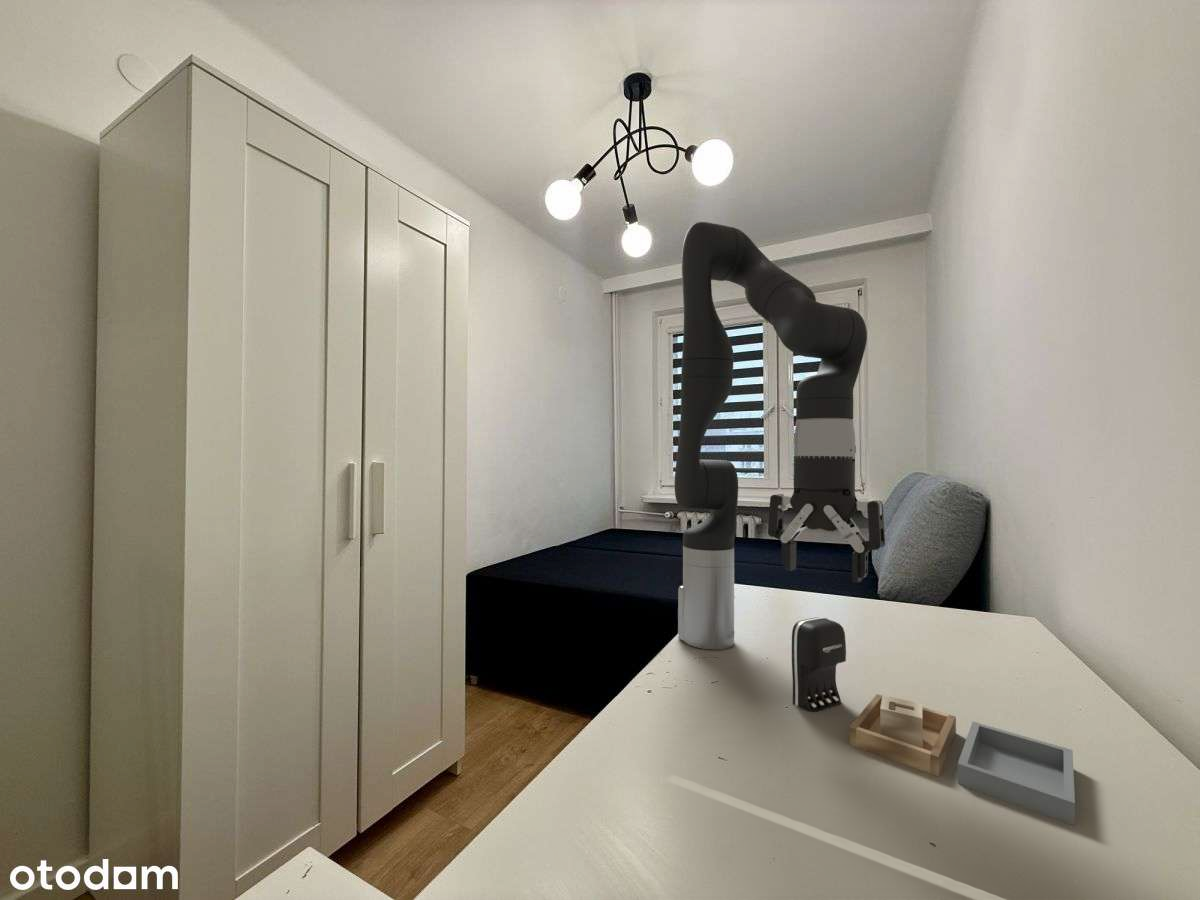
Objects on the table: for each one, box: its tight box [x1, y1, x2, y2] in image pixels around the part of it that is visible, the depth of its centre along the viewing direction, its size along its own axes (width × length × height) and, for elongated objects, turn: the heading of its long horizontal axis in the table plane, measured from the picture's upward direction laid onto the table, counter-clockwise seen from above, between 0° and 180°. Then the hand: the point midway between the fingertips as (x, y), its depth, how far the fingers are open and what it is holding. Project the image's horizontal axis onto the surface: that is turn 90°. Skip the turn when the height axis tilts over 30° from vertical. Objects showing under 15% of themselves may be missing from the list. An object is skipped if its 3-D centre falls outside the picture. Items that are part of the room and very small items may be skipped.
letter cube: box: [880, 694, 923, 748], centre depth 56 cm, size 4×4×4 cm
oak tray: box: [848, 693, 957, 777], centre depth 57 cm, size 8×11×2 cm
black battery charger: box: [791, 616, 847, 713], centre depth 66 cm, size 7×4×11 cm, turn 117°
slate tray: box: [957, 721, 1076, 827], centre depth 50 cm, size 8×11×2 cm
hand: (822, 575), depth 66 cm, fingers open, 8 cm apart
